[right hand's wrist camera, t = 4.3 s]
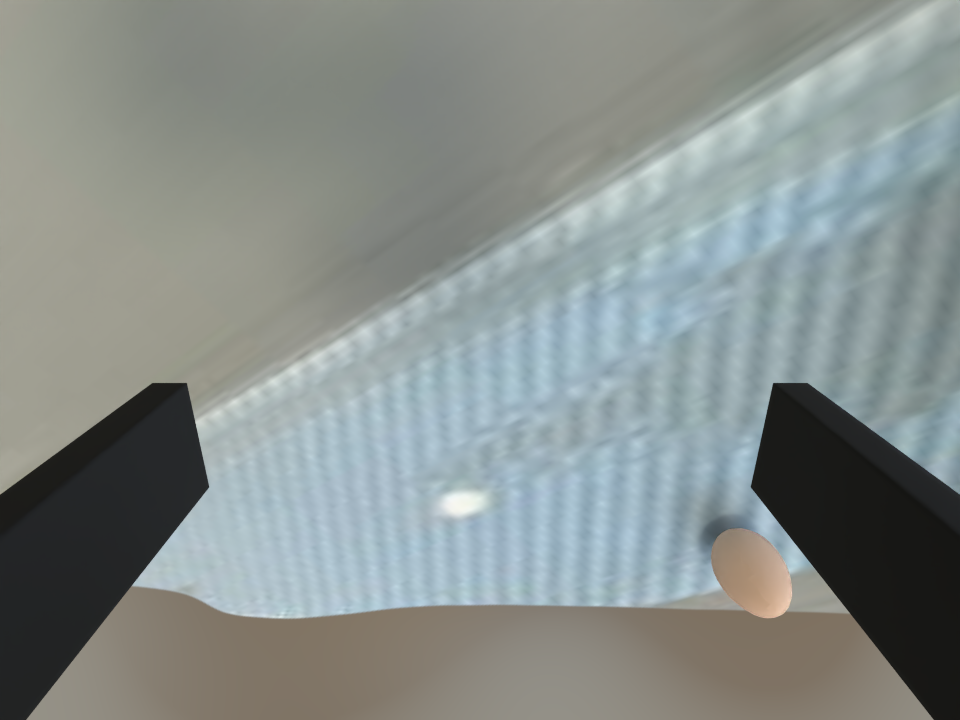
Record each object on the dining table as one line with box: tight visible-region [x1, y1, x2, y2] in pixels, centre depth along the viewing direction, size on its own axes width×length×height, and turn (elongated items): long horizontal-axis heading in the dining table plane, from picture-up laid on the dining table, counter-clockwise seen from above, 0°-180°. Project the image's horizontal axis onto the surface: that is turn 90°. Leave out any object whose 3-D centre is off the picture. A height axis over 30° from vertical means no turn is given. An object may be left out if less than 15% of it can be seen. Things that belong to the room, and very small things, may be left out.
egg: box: [711, 528, 792, 618], centre depth 44 cm, size 5×5×8 cm
